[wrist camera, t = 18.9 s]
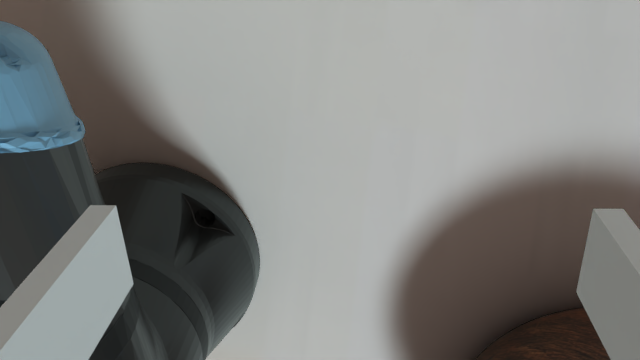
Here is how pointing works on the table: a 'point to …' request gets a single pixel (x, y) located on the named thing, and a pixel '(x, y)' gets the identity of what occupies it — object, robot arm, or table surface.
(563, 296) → the table surface
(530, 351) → the wooden bowl
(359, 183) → the table surface
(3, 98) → the robot arm
